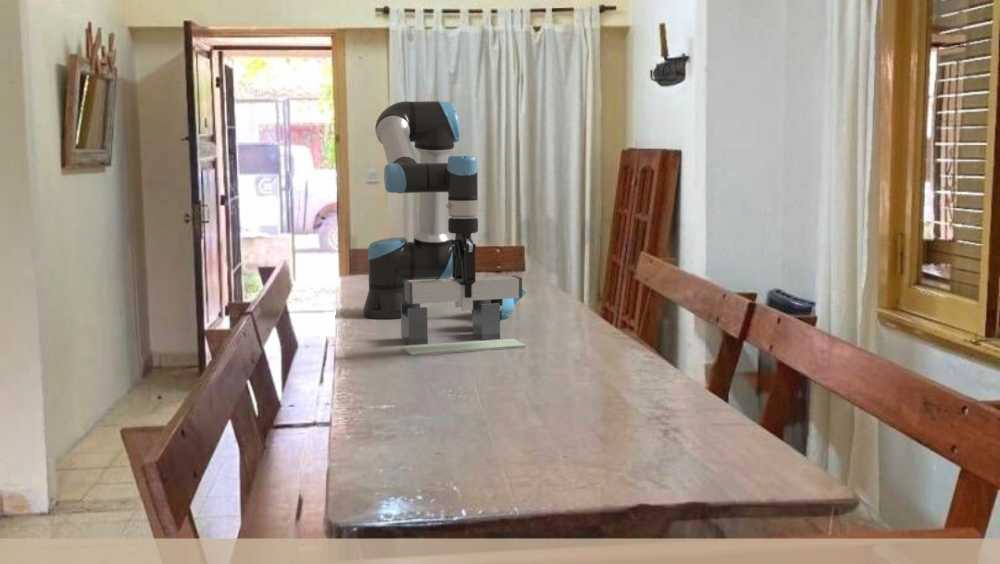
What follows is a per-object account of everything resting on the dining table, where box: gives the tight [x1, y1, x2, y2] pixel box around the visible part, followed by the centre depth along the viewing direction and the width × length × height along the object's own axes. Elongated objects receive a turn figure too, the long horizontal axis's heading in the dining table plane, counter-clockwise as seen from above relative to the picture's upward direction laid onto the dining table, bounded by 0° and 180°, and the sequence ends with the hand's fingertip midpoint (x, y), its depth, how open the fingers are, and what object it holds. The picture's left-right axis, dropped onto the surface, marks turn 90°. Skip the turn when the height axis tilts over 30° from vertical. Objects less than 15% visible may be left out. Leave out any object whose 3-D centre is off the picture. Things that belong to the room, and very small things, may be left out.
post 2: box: [471, 299, 501, 341], centre depth 272 cm, size 9×5×10 cm, turn 18°
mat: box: [402, 338, 526, 357], centre depth 258 cm, size 9×30×1 cm, turn 108°
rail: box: [404, 275, 523, 304], centre depth 255 cm, size 30×5×5 cm, turn 108°
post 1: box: [400, 303, 429, 346], centre depth 266 cm, size 9×5×10 cm, turn 18°
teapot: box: [501, 287, 528, 320], centre depth 301 cm, size 15×14×11 cm
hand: (464, 308), depth 256 cm, fingers closed on rail, 5 cm apart
